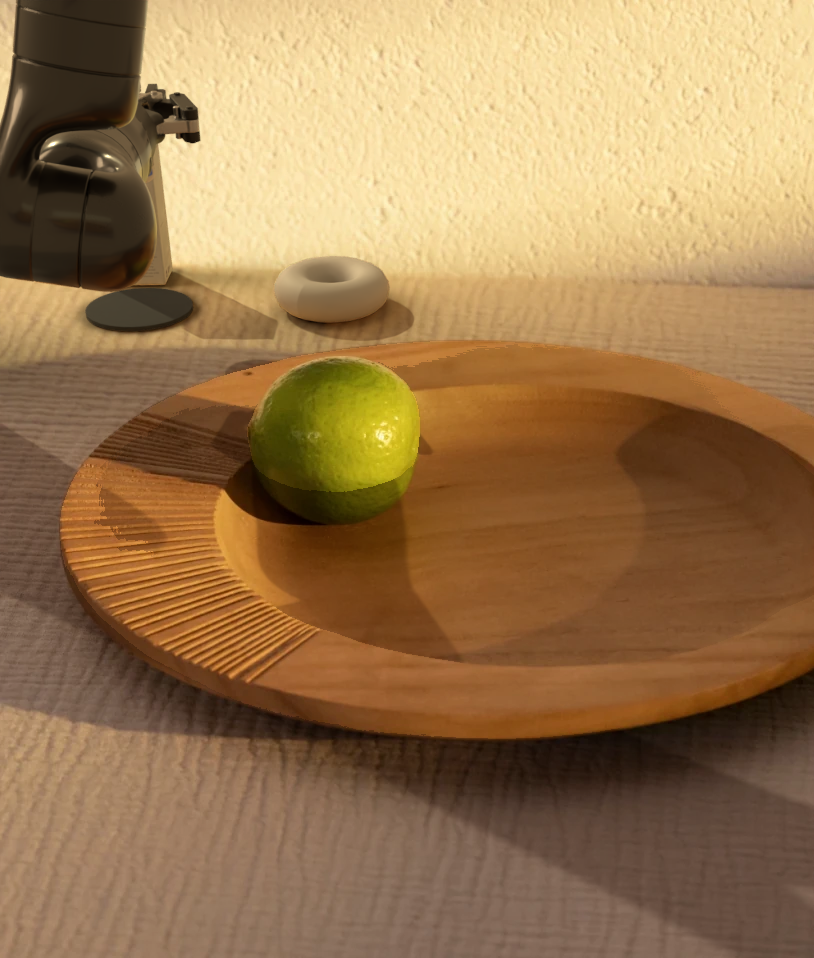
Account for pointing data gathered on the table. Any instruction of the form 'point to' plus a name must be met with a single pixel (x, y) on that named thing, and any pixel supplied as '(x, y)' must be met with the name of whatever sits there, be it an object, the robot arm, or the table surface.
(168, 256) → the cosmetic box
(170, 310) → the coaster
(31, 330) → the table surface
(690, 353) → the table surface
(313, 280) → the donut
